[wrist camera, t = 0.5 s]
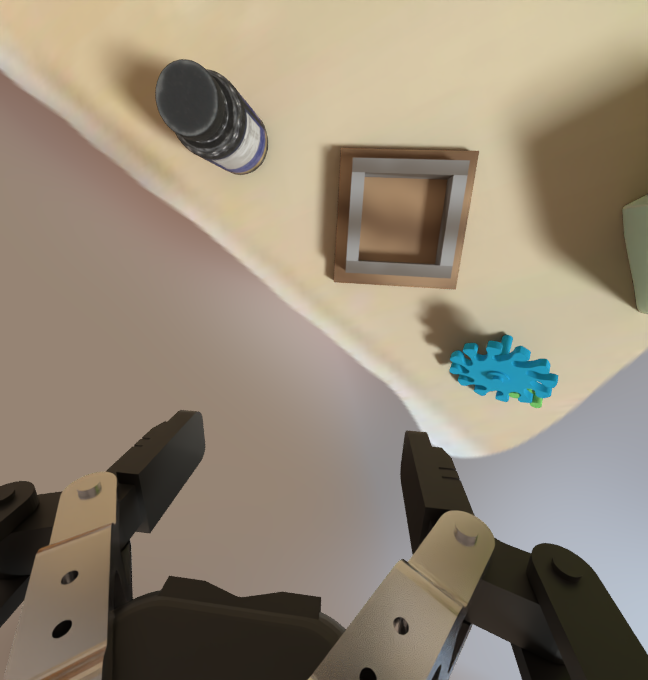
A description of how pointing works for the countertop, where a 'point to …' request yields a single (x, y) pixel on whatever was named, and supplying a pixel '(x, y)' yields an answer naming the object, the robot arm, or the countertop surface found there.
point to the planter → (637, 248)
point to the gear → (504, 372)
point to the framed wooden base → (402, 216)
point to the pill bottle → (211, 117)
